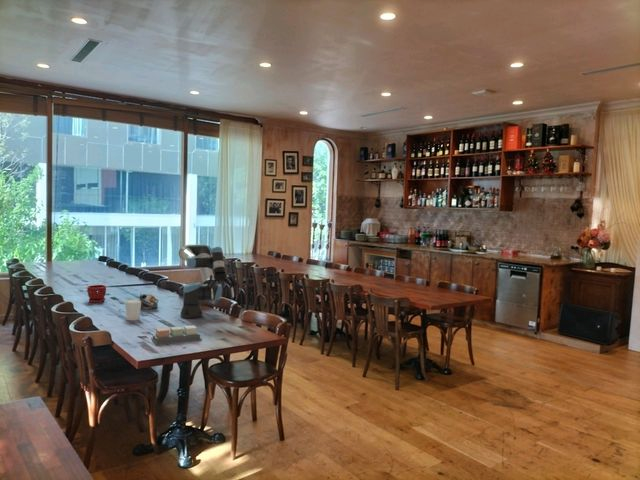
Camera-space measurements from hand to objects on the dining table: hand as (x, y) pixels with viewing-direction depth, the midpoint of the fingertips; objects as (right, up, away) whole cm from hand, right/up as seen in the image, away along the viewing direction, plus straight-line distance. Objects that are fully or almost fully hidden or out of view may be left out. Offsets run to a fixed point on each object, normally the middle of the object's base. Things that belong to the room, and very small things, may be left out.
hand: (223, 297), depth 322 cm
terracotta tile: (-27, -17, -41) cm, 52 cm away
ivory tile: (-13, -17, -33) cm, 39 cm away
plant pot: (-109, -9, +55) cm, 122 cm away
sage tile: (-20, -17, -37) cm, 45 cm away
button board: (-20, -20, -37) cm, 46 cm away
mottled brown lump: (-63, -13, +41) cm, 76 cm away
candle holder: (-62, -15, +7) cm, 64 cm away
